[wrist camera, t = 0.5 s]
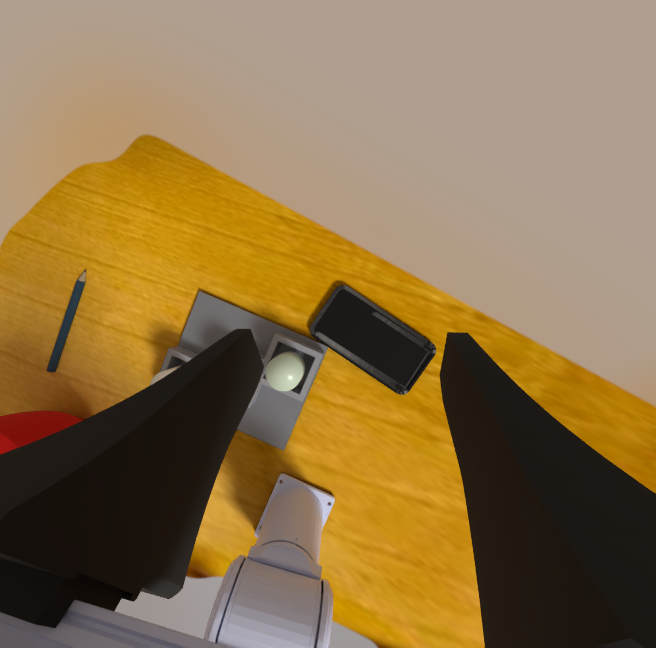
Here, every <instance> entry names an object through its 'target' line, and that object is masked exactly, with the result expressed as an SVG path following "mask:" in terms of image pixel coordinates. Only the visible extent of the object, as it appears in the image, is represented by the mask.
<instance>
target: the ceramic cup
mask: <svg viewBox="0 0 656 648" xmlns="http://www.w3.org/2000/svg"><path fill="white" fill-rule="evenodd" d="M81 421H83V419H80V418H78V417H76V416H73V415H70V414H67V413H63V412H55V411H32V412H22V413H15V414H10V415H5V416H0V454H3V453H6V452H8V451H11V450H14V449H16V448H19V447H22V446H24V445H27V444H29V443H32V442H34V441H37V440H39V439H42V438H44V437H46V436H49V435H51V434H53V433H56V432H58V431H61V430H63V429H65V428H67V427H70V426H72V425H74V424H76V423H79V422H81Z"/></svg>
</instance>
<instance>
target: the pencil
mask: <svg viewBox="0 0 656 648" xmlns="http://www.w3.org/2000/svg"><path fill="white" fill-rule="evenodd" d="M85 282H86V269H85V271H84V272H83V273H82V275H81V276H80V277H79V278H78V280H77V282H76V284H75V287H74V290H73V293H72V296H71V299H70V302H69V305H68V308H67V311H66V314H65V317H64V320H63V323H62V326H61V329H60V332H59V335H58V338H57V341H56V344H55V347H54V350H53V353H52V356H51V359H50V362H49V365H48V368H47V370H46V371H48V372H55V371H56V368H57V365H58V362H59V359H60V356H61V353H62V350H63V347H64V344H65V341H66V338H67V336H68V333H69V330H70V327H71V324H72V321H73V318H74V315H75V312H76V309H77V306H78V303H79V300H80V297H81V294H82V291H83V288H84V285H85Z"/></svg>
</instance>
